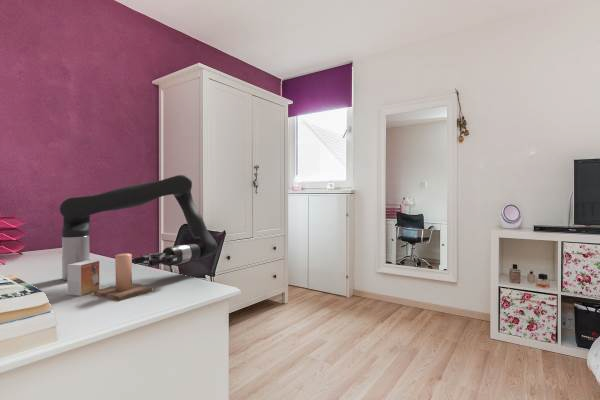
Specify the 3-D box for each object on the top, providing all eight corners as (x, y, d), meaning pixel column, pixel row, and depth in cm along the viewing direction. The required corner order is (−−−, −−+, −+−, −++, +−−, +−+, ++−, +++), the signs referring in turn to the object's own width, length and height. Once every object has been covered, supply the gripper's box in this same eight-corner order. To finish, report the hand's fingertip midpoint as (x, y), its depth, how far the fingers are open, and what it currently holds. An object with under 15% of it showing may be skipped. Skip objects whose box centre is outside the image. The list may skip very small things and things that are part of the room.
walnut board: (94, 294, 110) (94, 291, 110) (127, 285, 121) (127, 282, 121) (119, 300, 104) (119, 296, 104) (152, 290, 114) (152, 287, 114)
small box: (81, 296, 108) (80, 265, 108) (67, 295, 110) (66, 264, 109) (100, 289, 116) (99, 260, 116) (87, 288, 117) (86, 259, 117)
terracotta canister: (112, 290, 111) (112, 255, 111) (126, 286, 116) (125, 253, 116) (121, 292, 109) (121, 256, 109) (135, 288, 113) (134, 254, 113)
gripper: (165, 244, 136) (129, 250, 121) (189, 247, 129) (154, 253, 115) (165, 262, 136) (129, 270, 122) (189, 265, 129) (154, 274, 115)
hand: (141, 262), depth 118 cm, fingers open, 8 cm apart
